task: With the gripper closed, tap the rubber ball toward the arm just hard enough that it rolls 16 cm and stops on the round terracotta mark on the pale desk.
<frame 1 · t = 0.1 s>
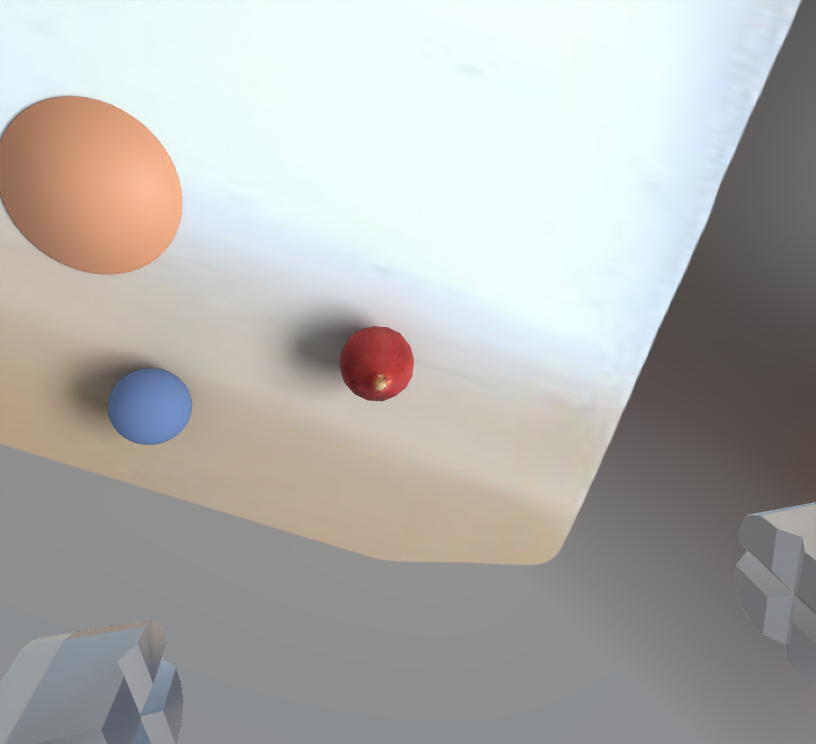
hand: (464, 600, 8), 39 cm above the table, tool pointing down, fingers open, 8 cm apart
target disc: (92, 190, 40), on the table
ball: (151, 406, 45), on the table
onion: (373, 344, 48), on the table
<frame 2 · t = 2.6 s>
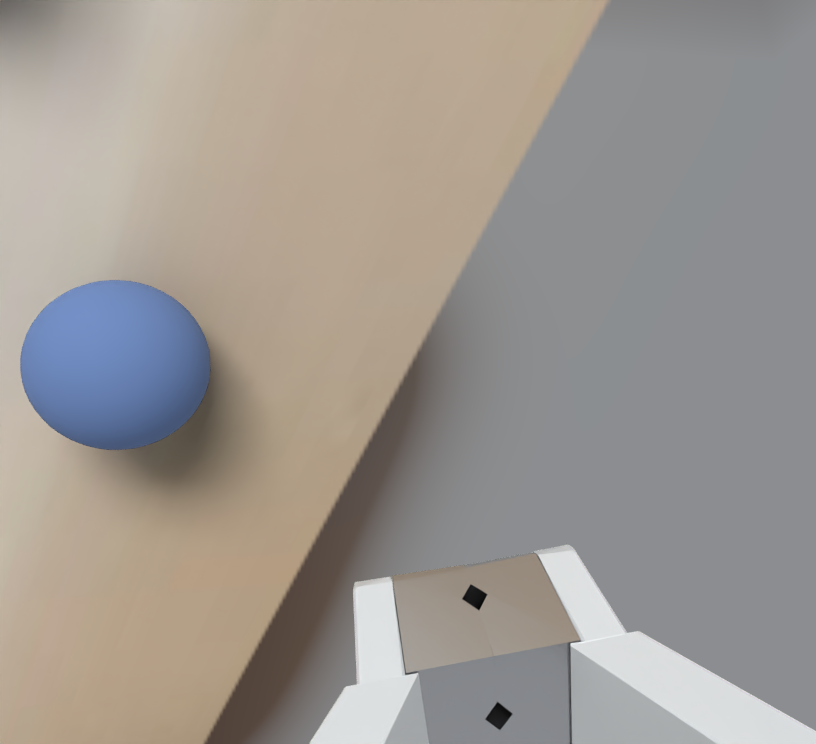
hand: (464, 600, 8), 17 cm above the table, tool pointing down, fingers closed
ball: (121, 365, 20), on the table
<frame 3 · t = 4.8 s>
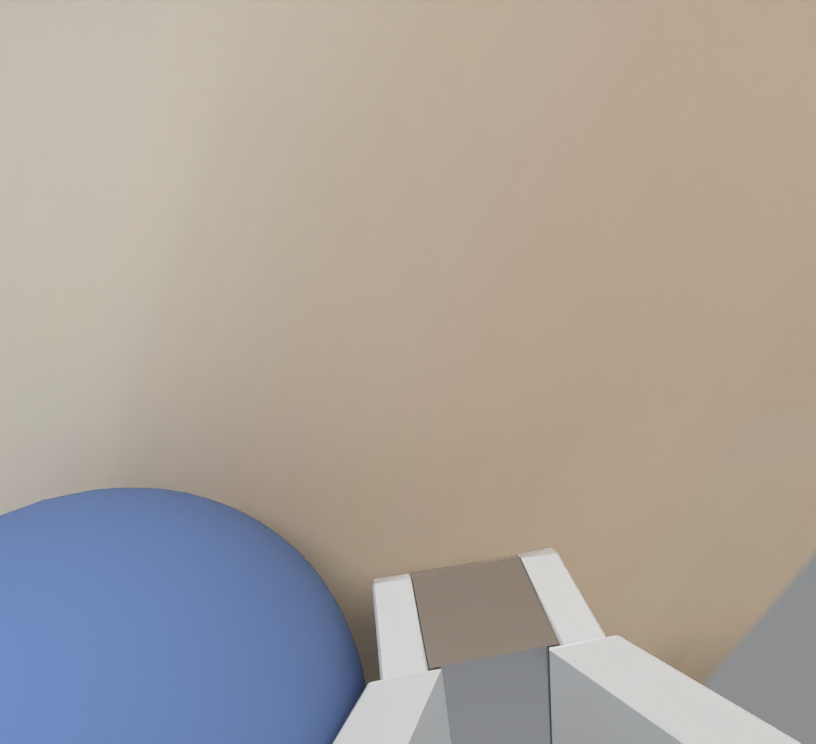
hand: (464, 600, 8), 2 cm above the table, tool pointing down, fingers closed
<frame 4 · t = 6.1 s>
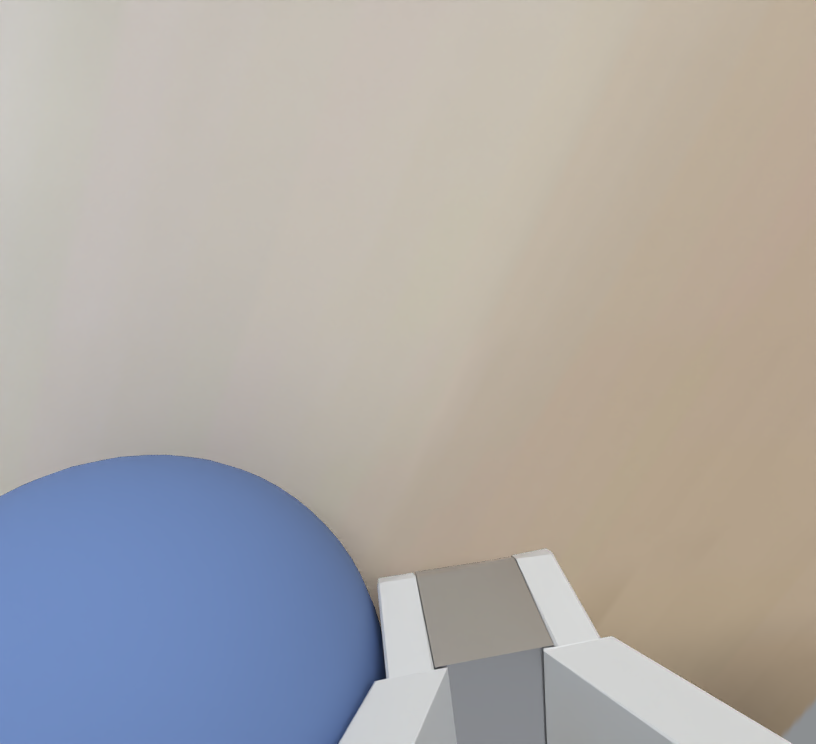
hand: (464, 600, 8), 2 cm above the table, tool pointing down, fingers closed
ball: (140, 706, 7), on the table, touching gripper
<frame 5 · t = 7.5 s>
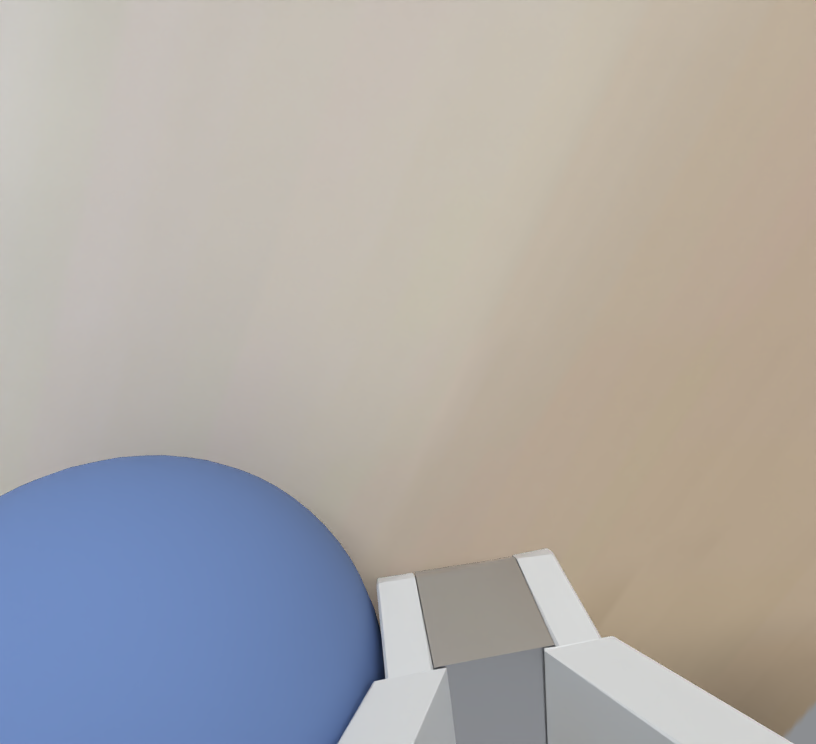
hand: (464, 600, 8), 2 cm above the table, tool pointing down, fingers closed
ball: (139, 707, 7), on the table, touching gripper
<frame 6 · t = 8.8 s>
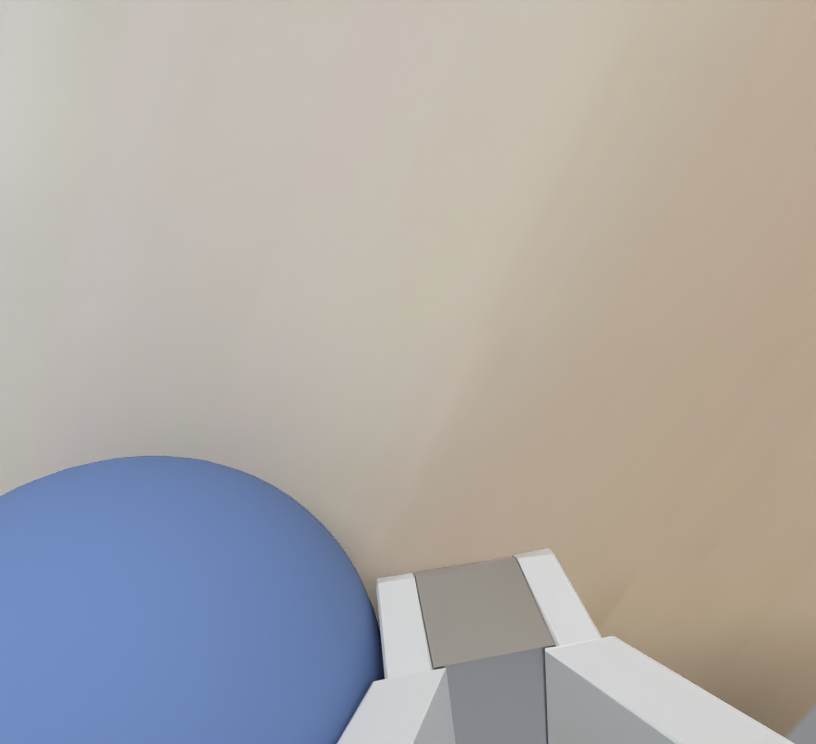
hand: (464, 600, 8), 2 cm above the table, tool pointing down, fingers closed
ball: (138, 708, 7), on the table, touching gripper
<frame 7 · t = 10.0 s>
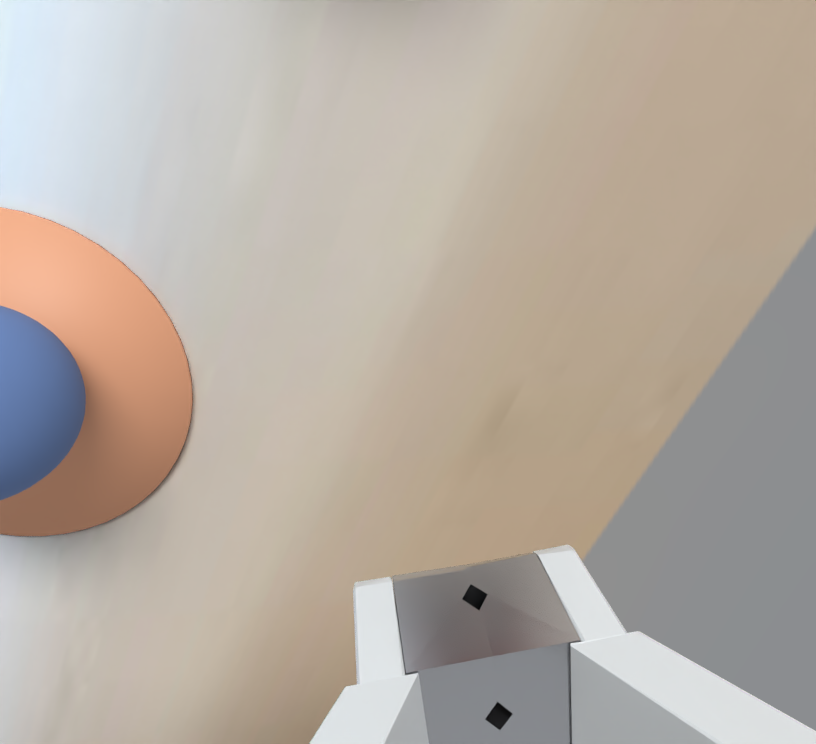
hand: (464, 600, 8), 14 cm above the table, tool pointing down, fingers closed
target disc: (10, 385, 20), on the table
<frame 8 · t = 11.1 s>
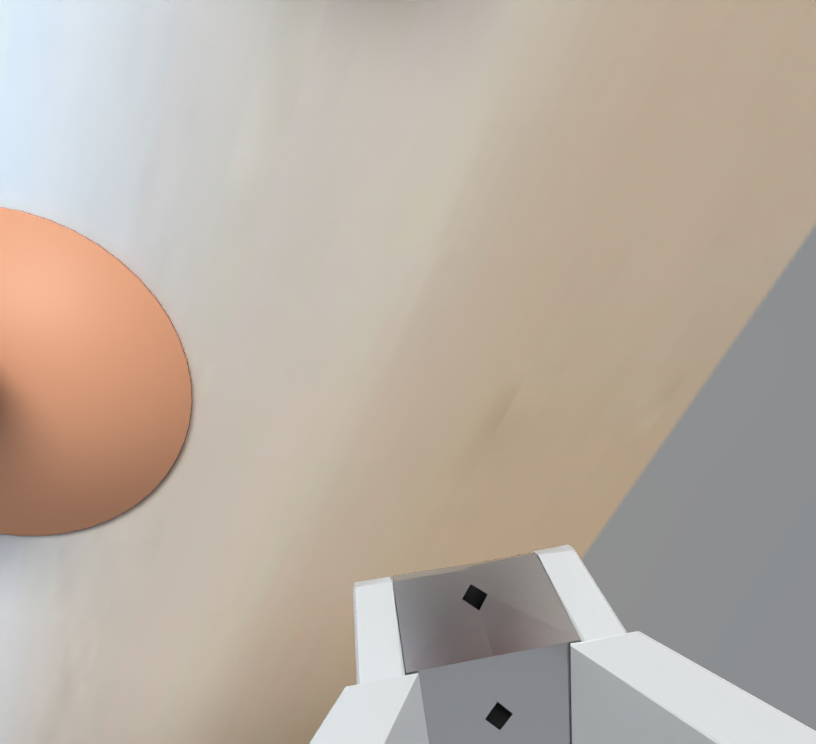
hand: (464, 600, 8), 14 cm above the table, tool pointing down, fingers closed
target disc: (10, 385, 20), on the table
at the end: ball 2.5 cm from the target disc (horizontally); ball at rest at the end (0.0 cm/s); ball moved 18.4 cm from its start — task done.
